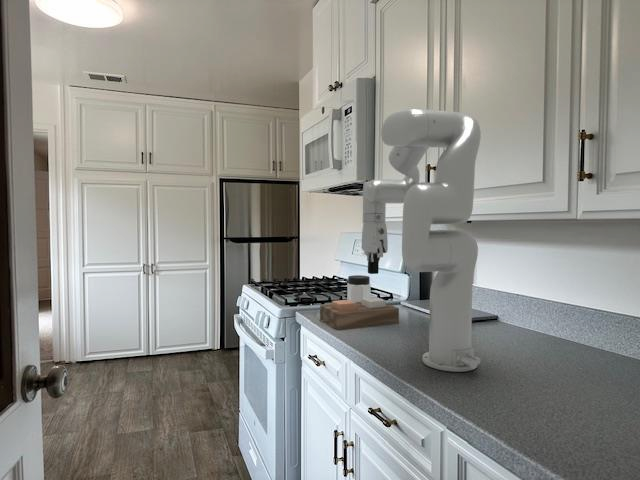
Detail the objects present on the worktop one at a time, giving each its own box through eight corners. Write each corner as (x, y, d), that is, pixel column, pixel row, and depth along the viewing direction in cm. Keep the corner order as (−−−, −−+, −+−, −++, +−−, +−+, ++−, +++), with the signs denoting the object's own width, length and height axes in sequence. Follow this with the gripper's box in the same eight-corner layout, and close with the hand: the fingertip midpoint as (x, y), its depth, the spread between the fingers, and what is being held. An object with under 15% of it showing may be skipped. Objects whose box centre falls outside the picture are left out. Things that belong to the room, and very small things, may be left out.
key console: (398, 323, 139) (398, 308, 139) (337, 330, 131) (337, 314, 131) (377, 314, 152) (377, 300, 152) (320, 319, 144) (320, 305, 143)
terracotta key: (356, 314, 138) (356, 302, 137) (339, 315, 135) (339, 304, 135) (348, 310, 143) (348, 299, 143) (331, 311, 141) (331, 300, 141)
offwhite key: (385, 311, 142) (385, 300, 142) (370, 312, 140) (370, 301, 139) (376, 307, 147) (376, 297, 147) (361, 309, 145) (361, 298, 145)
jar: (358, 304, 169) (358, 274, 168) (374, 307, 163) (374, 276, 163) (342, 308, 163) (342, 276, 162) (359, 311, 157) (359, 279, 156)
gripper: (395, 219, 137) (394, 276, 138) (372, 218, 150) (371, 269, 152) (375, 219, 134) (374, 277, 135) (353, 218, 147) (352, 271, 149)
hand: (373, 273), depth 143 cm, fingers closed
